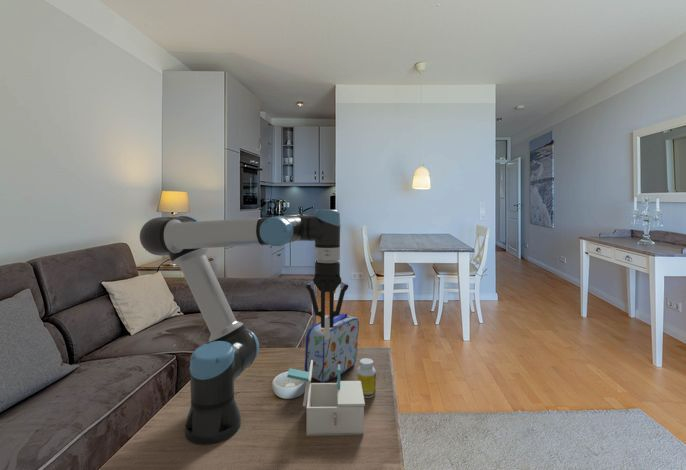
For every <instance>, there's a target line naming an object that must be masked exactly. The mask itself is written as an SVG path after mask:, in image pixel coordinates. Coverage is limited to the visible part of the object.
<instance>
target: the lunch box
mask: <svg viewBox="0 0 686 470" xmlns="http://www.w3.org/2000/svg"><path fill="white" fill-rule="evenodd" d="M359 325H360V323H359V319H358V318H357V317H354V316H350V315H348V313H340V314H339V315H338V316H334V318H333V328H330V339H325V328H321V321H320V322H317V323H315V324H313V325H312V326H311V327H309V329H308V330H307V332H306V335H305V352H304V354H305V357H304V359H305V360H304V371H306V372H308V371H309V367H310V362H311V360H313V367H312V376H311V378H313V379H314V380H317V381H319V382H320V383H328V382H329V381H331V380H332V379H334V378H336V377H337V368H338V364H340V376H341V375H342V374H344V373H345V372H347V371H348V370H349V369H350V368H351V367H353V366H354V365H355V364H356V361H357V357H358V340H359V332H360V331H359V328H360V326H359Z"/></svg>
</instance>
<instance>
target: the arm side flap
mask: <svg viewBox="0 0 686 470" xmlns="http://www.w3.org/2000/svg"><path fill="white" fill-rule="evenodd" d="M312 367H313V360H311V362H310V367H309V371H308V372H306V371H305V370H301V369H295V368H288V372H287V376H286V378H288V379H294V380H299V381H304V382H305V388H304V395H303V402H302V407H306V406H307V400H308V392H309V387H310V383H312V377H311V376H312Z"/></svg>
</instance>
